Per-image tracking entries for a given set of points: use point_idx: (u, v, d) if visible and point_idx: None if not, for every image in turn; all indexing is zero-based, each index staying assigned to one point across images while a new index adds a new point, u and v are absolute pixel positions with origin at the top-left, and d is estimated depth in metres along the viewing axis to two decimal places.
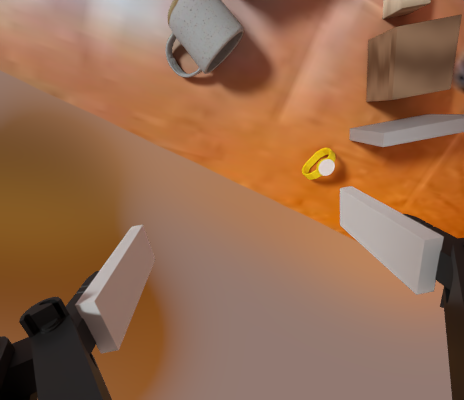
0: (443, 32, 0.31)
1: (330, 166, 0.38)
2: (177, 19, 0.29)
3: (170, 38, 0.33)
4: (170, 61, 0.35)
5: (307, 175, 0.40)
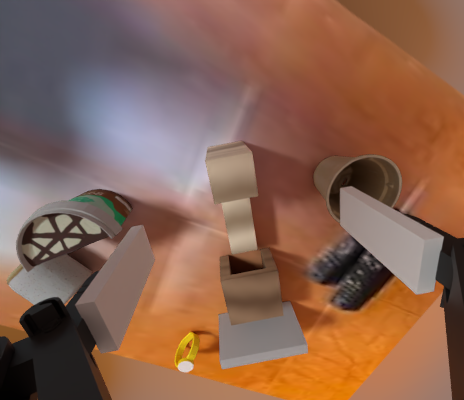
0: (264, 282, 0.35)
1: (189, 365, 0.41)
2: None
3: None
4: None
5: (175, 363, 0.44)
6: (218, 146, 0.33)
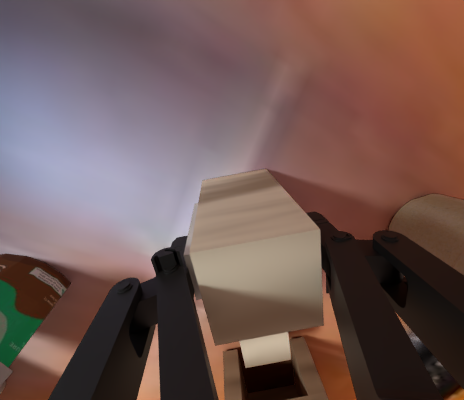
0: None
1: None
2: None
3: None
4: None
5: None
6: (222, 181, 0.17)
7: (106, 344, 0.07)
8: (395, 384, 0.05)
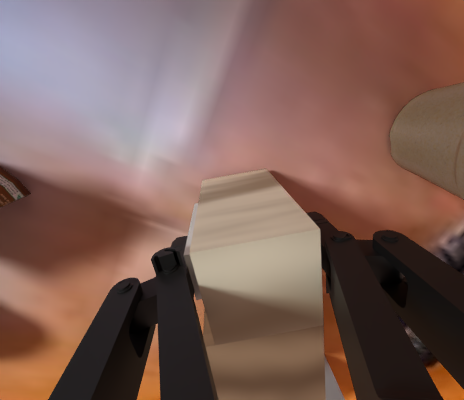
0: (293, 347, 0.17)
1: None
2: None
3: None
4: None
5: None
6: (222, 181, 0.17)
7: (106, 344, 0.07)
8: (395, 384, 0.05)
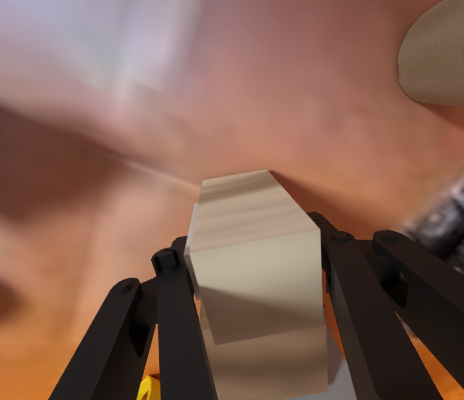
0: (294, 331, 0.16)
1: None
2: None
3: None
4: None
5: None
6: (222, 181, 0.17)
7: (106, 344, 0.07)
8: (395, 384, 0.05)
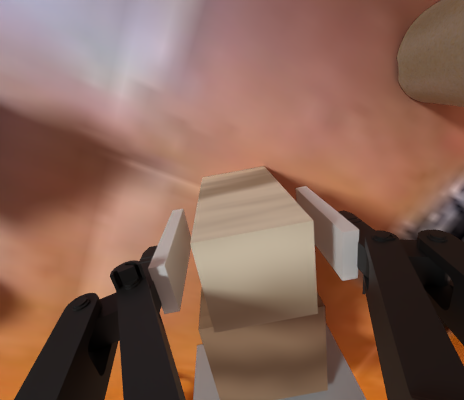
0: (294, 330, 0.16)
1: None
2: None
3: None
4: None
5: None
6: (222, 178, 0.17)
7: (62, 365, 0.07)
8: (432, 389, 0.05)
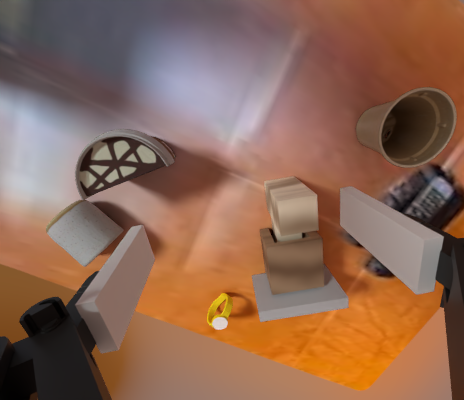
0: (308, 250, 0.36)
1: (223, 322, 0.41)
2: (52, 238, 0.34)
3: None
4: None
5: (208, 322, 0.43)
6: (275, 181, 0.37)
7: None
8: None
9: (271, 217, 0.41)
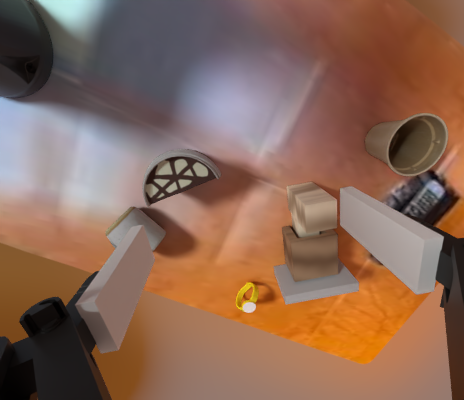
0: (325, 244, 0.43)
1: (252, 306, 0.48)
2: (111, 240, 0.40)
3: None
4: (114, 244, 0.46)
5: (237, 307, 0.50)
6: (296, 186, 0.44)
7: None
8: None
9: (292, 216, 0.47)
